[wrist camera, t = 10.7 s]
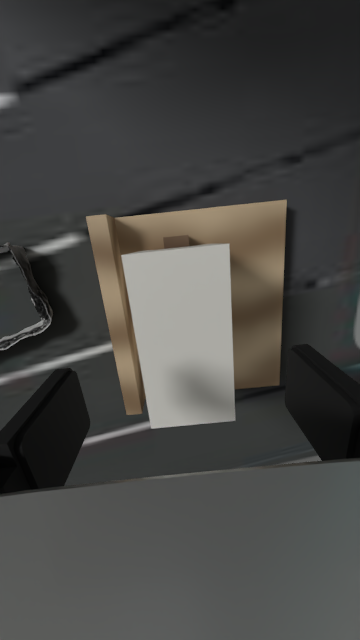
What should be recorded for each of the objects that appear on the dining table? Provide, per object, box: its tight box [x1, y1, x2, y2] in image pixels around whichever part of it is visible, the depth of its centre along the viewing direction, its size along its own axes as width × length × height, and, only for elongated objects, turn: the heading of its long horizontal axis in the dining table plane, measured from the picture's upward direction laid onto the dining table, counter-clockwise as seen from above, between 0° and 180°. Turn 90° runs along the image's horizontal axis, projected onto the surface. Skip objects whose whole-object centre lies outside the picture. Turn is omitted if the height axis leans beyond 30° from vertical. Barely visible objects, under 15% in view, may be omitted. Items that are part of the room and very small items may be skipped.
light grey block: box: [121, 244, 235, 429], centre depth 19 cm, size 13×6×8 cm, turn 6°
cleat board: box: [86, 200, 287, 415], centre depth 22 cm, size 18×16×4 cm
